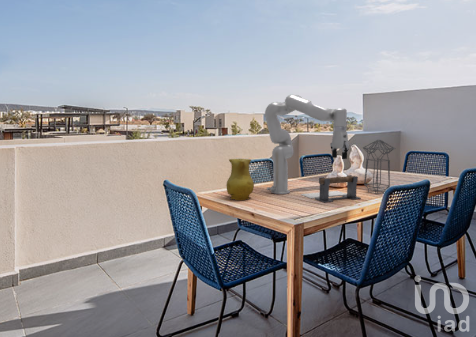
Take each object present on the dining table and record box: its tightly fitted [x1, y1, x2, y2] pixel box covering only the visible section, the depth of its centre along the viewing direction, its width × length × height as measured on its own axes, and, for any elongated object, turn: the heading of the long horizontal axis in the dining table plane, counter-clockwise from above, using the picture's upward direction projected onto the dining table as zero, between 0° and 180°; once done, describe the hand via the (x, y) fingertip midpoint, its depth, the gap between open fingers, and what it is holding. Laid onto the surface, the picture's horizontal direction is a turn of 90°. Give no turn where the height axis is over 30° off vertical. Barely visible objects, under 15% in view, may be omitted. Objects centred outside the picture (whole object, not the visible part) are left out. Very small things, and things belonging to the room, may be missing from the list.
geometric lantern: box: [362, 139, 396, 195], centre depth 234 cm, size 16×16×35 cm
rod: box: [319, 175, 356, 185], centre depth 216 cm, size 24×4×4 cm, turn 111°
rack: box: [314, 174, 362, 204], centre depth 216 cm, size 26×10×14 cm, turn 111°
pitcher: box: [225, 158, 255, 201], centre depth 222 cm, size 17×19×25 cm
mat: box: [300, 190, 347, 199], centre depth 230 cm, size 28×12×1 cm, turn 111°
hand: (339, 158), depth 214 cm, fingers open, 9 cm apart
